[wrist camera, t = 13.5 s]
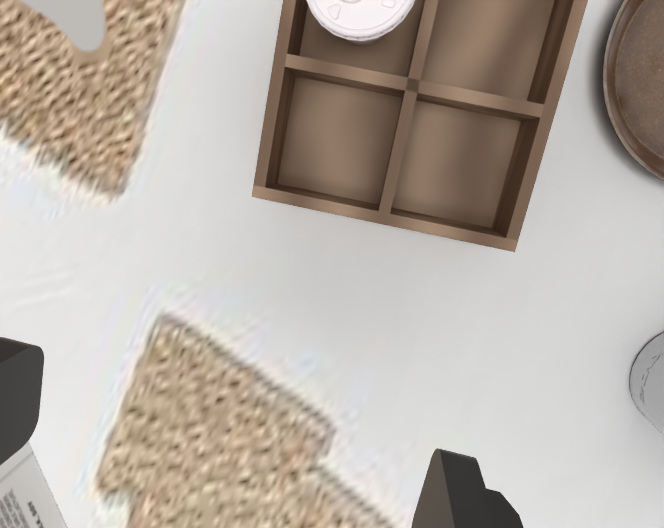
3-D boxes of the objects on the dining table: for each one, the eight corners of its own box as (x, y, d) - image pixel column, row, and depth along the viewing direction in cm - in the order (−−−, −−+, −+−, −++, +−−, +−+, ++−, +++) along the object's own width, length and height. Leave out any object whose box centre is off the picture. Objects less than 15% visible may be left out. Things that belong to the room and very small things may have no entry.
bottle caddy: (567, -16, 35) (600, -45, 30) (496, 238, 40) (514, 251, 34) (311, -64, 36) (299, -101, 31) (268, 190, 40) (251, 196, 35)
